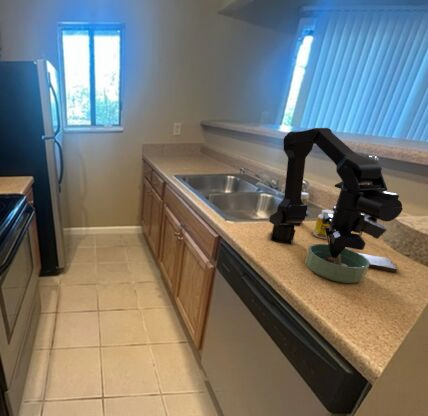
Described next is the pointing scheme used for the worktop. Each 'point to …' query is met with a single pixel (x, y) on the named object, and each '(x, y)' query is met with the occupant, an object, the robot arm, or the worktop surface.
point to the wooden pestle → (338, 260)
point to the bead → (330, 259)
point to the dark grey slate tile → (380, 263)
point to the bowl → (334, 272)
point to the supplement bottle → (321, 225)
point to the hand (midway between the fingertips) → (333, 255)
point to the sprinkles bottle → (304, 197)
